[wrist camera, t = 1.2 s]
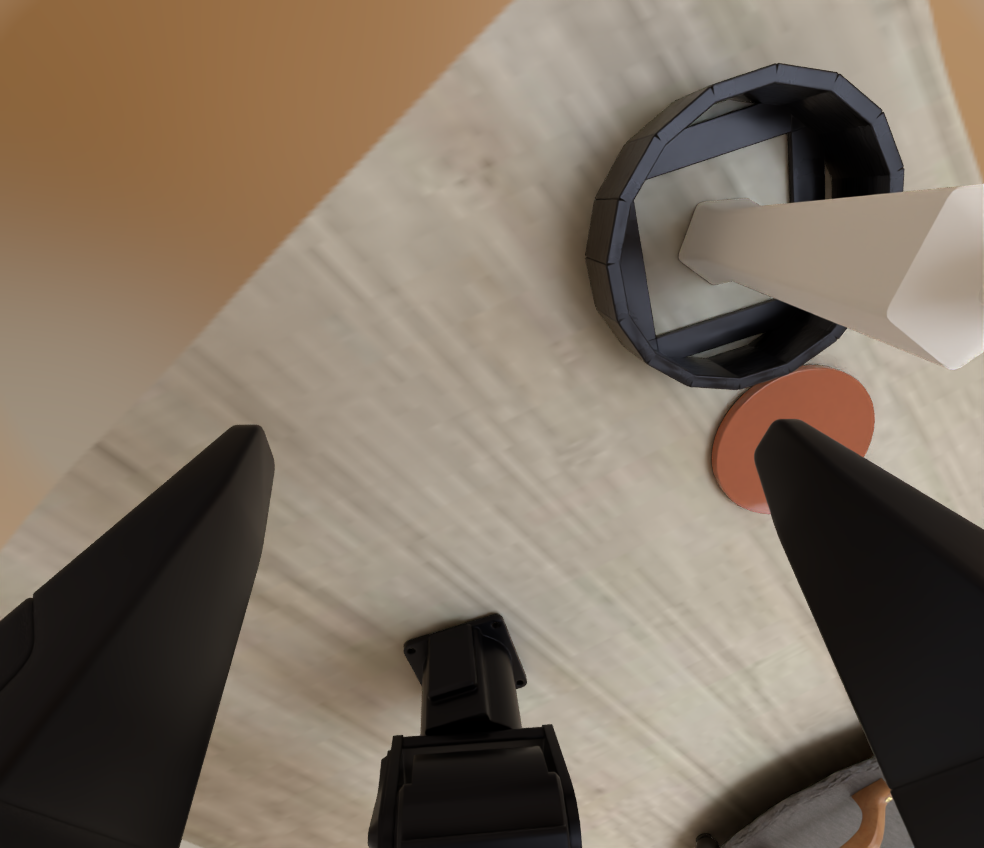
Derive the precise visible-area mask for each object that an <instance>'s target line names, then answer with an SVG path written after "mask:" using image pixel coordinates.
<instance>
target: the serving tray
mask: <svg viewBox="0 0 984 848" xmlns="http://www.w3.org/2000/svg"><path fill="white" fill-rule="evenodd" d="M890 790H891V789H889V788H888V786H887V783H886V781H885V779H884V777H883V774H882V772H881V770H880V767H879V765H878V763H877V761H876V758H875V756H873V757H872V758H870V759H867V760H865V761H862V762H859V763H857V764H854V765H852V766H850V767H847V768H845V769H842V770H840V771H837V772H835V773H833V774H831V775H830V776H828V777H826V778H824V779H823V780H821V781H819V782H817V783H815V784H813V785H812V786H810V787H808V788H806V789H804V790H802V791H799V792H797V793H795V794H792V795H791V796H789V797H788V798H786V799H784V800H783V801H781V802H779V803H778V804H776V805H774V806H773V807H771V808H770V809H769V810H767V811H766V812H765V813H764V814H762V815H760V816H759V817H757V818H756V819H755V820H754V821H753V822H752V823H750V824H749V825H747V826H746V827H744V828H743V829H742V830H740V831H739V832H738V833H736V834H735V835H734V836H732V837H731V838H730V839H729V840H728V841H726V842H725V843H724V844H723V845H722V846H721V847H720V845H719V844H718V842H717V841H716V840H715V839H714V838H712V837H711V835H710V834H702V835H700V836H698V837H697V838H696V842H697V844H696V848H914V846H913V844H912V841H911V839H910V837H909V834H908V832H907V830H906V828H905V825H904V823H903V821H902V818H901V816H900V814H899V812H898V809H897V807H896V805H895V802H894V800H893V798H892V796H891V793H890Z"/></svg>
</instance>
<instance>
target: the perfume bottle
mask: <svg viewBox="0 0 984 848" xmlns="http://www.w3.org/2000/svg"><path fill="white" fill-rule="evenodd" d="M679 260H680V261H681V262H682V263H684V264H685V265H686V266H688V267H689V268H690V269H692V270H693V271H694V272H696V273H697V274H699V275H700V276H701V277H703V278H704V279H705V280H707V281H708V282H709V283H711V284H713V285H718V284H722V283H727V282H732V281H733V282H736V283H738V284H741V285H743V286H746V287H748V288H751V289H753V290H756V291H758V292H761V293H763V294H765V295H768V296H770V297H773V298H775V299H778V300H780V301H783V302H785V303H788V304H790V305H793V306H795V307H797V308H800V309H802V310H805V311H807V312H810V313H812V314H815V315H817V316H820V317H822V318H825V319H827V320H829V321H832V322H834V323H837V324H839V325H842V326H844V327H847V328H849V329H852V330H854V331H856V332H859V333H861V334H864V335H866V336H869V337H871V338H874V339H876V340H879V341H881V342H884V343H886V344H888V345H891V346H893V347H896V348H898V349H901V350H903V351H906V352H908V353H911V354H913V355H916V356H918V357H920V358H923V359H925V360H928V361H930V362H933V363H935V364H938V365H940V366H943V367H945V368H947V369H950V370H956V369H958V368H960V367H962V366H964V365H965V364H966V363H968V362H969V361H971V360H972V359H974V358H975V357H977V356H978V355H980V354H981V353H983V352H984V184H979V185H968V186H957V187H947V188H937V189H927V190H917V191H907V192H897V193H887V194H877V195H867V196H857V197H847V198H837V199H827V200H817V201H807V202H797V203H787V204H776V205H766V206H760V205H759V204H757V203H755V202H754V201H752V200H750V199H748V198H742V199H730V200H718V201H707V202H701V203H699V204H698V205H697V207H696V209H695V211H694V214H693V217H692V220H691V222H690V225H689V228H688V230H687V233H686V236H685V239H684V241H683V244H682V247H681V250H680V252H679Z"/></svg>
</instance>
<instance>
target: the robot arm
mask: <svg viewBox="0 0 984 848" xmlns="http://www.w3.org/2000/svg"><path fill="white" fill-rule="evenodd" d="M754 462H755V466H756V469H757V472H758V475H759V478H760V481H761V485H762V488H763V491H764V494H765V497H766V500H767V504H768V507H769V510H770V513H771V516H772V519H773V523H774V525H775V528H776V531H777V534H778V537H779V539H780V541H781V544H782V546H783V549H784V551H785V553H786V556H787V558H788V560H789V562H790V565H791V567H792V569H793V571H794V574H795V576H796V578H797V581H798V583H799V585H800V587H801V590H802V592H803V594H804V597H805V599H806V601H807V603H808V606H809V608H810V610H811V612H812V615H813V617H814V619H815V622H816V624H817V626H818V628H819V631H820V633H821V635H822V638H823V640H824V642H825V644H826V647H827V649H828V651H829V653H830V656H831V658H832V660H833V663H834V665H835V667H836V669H837V672H838V674H839V676H840V679H841V681H842V683H843V685H844V688H845V690H846V692H847V695H848V697H849V699H850V701H851V704H852V706H853V708H854V710H855V713H856V715H857V717H858V720H859V722H860V724H861V726H862V729H863V731H864V733H865V736H866V738H867V740H868V742H869V745H870V747H871V749H872V751H873V754H874V756H875V758H876V761H877V763H878V765H879V767H880V770H881V772H882V774H883V777H884V779H885V781H886V783H887V786H888V788H889V789H891V790H890V793H891V796H892V798H893V800H894V802H895V805H896V807H897V809H898V812H899V814H900V816H901V818H902V821H903V823H904V825H905V828H906V830H907V832H908V834H909V837H910V839H911V841H912V844H913V846H914V848H984V530H983V529H982V528H980V527H978V526H977V525H975V524H973V523H972V522H970V521H968V520H967V519H965V518H963V517H962V516H960V515H958V514H957V513H955V512H953V511H952V510H950V509H948V508H947V507H945V506H944V505H942V504H940V503H939V502H937V501H935V500H934V499H932V498H930V497H929V496H927V495H925V494H924V493H922V492H920V491H919V490H917V489H915V488H914V487H912V486H910V485H909V484H907V483H905V482H904V481H902V480H900V479H899V478H897V477H895V476H894V475H892V474H890V473H889V472H887V471H885V470H884V469H882V468H880V467H879V466H877V465H875V464H874V463H872V462H870V461H869V460H867V459H865V458H864V457H862V456H860V455H859V454H857V453H855V452H854V451H852V450H850V449H849V448H847V447H845V446H844V445H842V444H840V443H839V442H837V441H835V440H834V439H832V438H830V437H829V436H827V435H825V434H824V433H822V432H820V431H819V430H817V429H815V428H814V427H812V426H810V425H809V424H807V423H805V422H804V421H802V420H799V419H778V420H775V421H774V422H773V423H772V424H771V425H770V426H769V428H768V430H767V431H766V433H765V435H764V436H763V438H762V439H761V441H760V443H759V444H758V446H757V448H756V449H755V453H754ZM274 470H275V465H274V458H273V455H272V452H271V449H270V447H269V444H268V441H267V438H266V435H265V432H264V430H263V428H262V427H261V426H259V425H234V426H232V427H231V428H229V429H228V430H227V431H226V432H224V433H223V434H222V435H221V436H220V437H218V438H217V439H216V440H215V441H214V442H212V443H211V444H210V445H209V446H208V447H207V448H205V449H204V450H203V451H202V452H201V453H199V454H198V455H197V456H196V457H195V458H194V459H192V460H191V461H190V462H189V463H188V464H186V465H185V466H184V467H183V468H182V469H180V470H179V471H178V472H177V473H176V474H175V475H173V476H172V477H171V478H170V479H169V480H167V481H166V482H165V483H164V484H163V485H161V486H160V487H159V488H158V489H157V490H156V491H154V492H153V493H152V494H151V495H150V496H148V497H147V498H146V499H145V500H144V501H142V502H141V503H140V504H139V505H138V506H137V507H135V508H134V509H133V510H132V511H131V512H129V513H128V514H127V515H126V516H125V517H124V518H122V519H121V520H120V521H119V522H118V523H116V524H115V525H114V526H113V527H112V528H110V529H109V530H108V531H107V532H106V533H105V534H103V535H102V536H101V537H100V538H99V539H97V540H96V541H95V542H94V543H93V544H91V545H90V546H89V547H88V548H87V549H86V550H84V551H83V552H82V553H81V554H80V555H78V556H77V557H76V558H75V559H74V560H72V561H71V562H70V563H69V564H68V565H67V566H65V567H64V568H63V569H62V570H61V571H59V572H58V573H57V574H56V575H55V576H53V577H52V578H51V579H50V580H49V581H48V582H46V583H45V584H44V585H43V586H42V587H40V588H39V589H38V590H37V591H36V592H35V593H34V594H33V598H28V599H26V600H25V601H24V602H22V603H21V604H20V605H19V606H18V607H16V608H15V609H14V610H13V611H12V612H10V613H9V614H8V615H7V616H6V617H5V618H3V619H2V620H1V621H0V848H179V847H180V843H181V840H182V836H183V833H184V829H185V826H186V822H187V819H188V815H189V811H190V808H191V804H192V801H193V797H194V794H195V790H196V787H197V783H198V779H199V776H200V772H201V769H202V765H203V762H204V758H205V755H206V751H207V747H208V744H209V740H210V737H211V733H212V730H213V726H214V723H215V719H216V715H217V712H218V708H219V705H220V701H221V698H222V694H223V691H224V687H225V683H226V680H227V676H228V673H229V669H230V666H231V662H232V659H233V655H234V651H235V648H236V644H237V641H238V637H239V634H240V630H241V627H242V623H243V619H244V616H245V612H246V609H247V605H248V602H249V598H250V595H251V591H252V587H253V584H254V580H255V577H256V573H257V570H258V566H259V562H260V558H261V554H262V549H263V543H264V537H265V531H266V524H267V517H268V511H269V504H270V497H271V491H272V484H273V478H274ZM495 622H498V623H495ZM411 648H414V649H411ZM404 654H405V656H406V658H407V660H408V661H409V663H410V665H411V667H412V669H413V671H414V672H415V674H416V676H417V678H418V680H419V682H420V684H421V685H422V704H421V733H420V736H408V737H403V735H396V736H393V740H392V747H391V750H389V751H388V753H387V756H386V757H385V758H383V759H382V760H381V769H380V779H379V788H378V794H377V799H376V803H375V807H374V811H373V815H372V819H371V823H370V827H369V831H368V846H369V848H582V840H581V829H580V820H579V813H578V807H577V802H576V797H575V793H574V789H573V785H572V782H571V779H570V776H569V773H568V770H567V767H566V764H565V761H564V758H563V755H562V752H561V749H560V746H559V743H558V740H557V737H556V734H555V731H554V728H553V725H552V724H548V725H542V727H532V728H522V725H521V719H520V712H519V706H518V700H517V693H516V689H518V688H522V687H524V686H525V685H526V684H527V679H526V674H525V672H524V669H523V667H522V664H521V662H520V659H519V657H518V654H517V652H516V649H515V647H514V644H513V642H512V639H511V637H510V634H509V632H508V629H507V627H506V624H505V622H504V619H503V617H502V616H500V615H497V614H495V615H491V616H487V617H484V618H481V619H478V620H474V621H471V622H468V623H464V624H461V625H458V626H455V627H451V628H448V629H445V630H441V631H438V632H435V633H432V634H428V635H425V636H422V637H418V638H415V639H412V640H409V641H407V642H406V643H405V644H404Z"/></svg>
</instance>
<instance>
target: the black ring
mask: <svg viewBox="0 0 984 848" xmlns="http://www.w3.org/2000/svg"><path fill="white" fill-rule="evenodd" d="M726 100H735V101H742V102H749V103H756V104H755V105H752V106H749V107H746V108H743V109H740V110H737V111H735V112H732V113H729V114H726V115H723V116H720V117H717V118H714V119H711V120H708V121H705V122H702V123H699V124H696V125H693V126H690V127H688V126H689V125H690V124H692V123H693V122H694V121H695V120H696V119H697V118H699V117H700V116H701V115H702V114H703V113H704V112H706V111H707V110H708V109H709V108H710V107H711V106H713V105H714V104H717V103H720V102H723V101H726ZM786 133H788V160H789V187H790V203H797V202H807V201H817V200H825V163H826V166H827V168H828V170H829V173H830V175H831V177H832V199H837V198H847V197H857V196H867V195H877V194H887V193H897V192H903V184H904V168H903V167H904V166H903V163H902V160H901V157H900V155H899V152H898V149H897V146H896V144H895V141H894V138H893V136H892V133H891V130H890V127H889V125H888V122H887V119H886V117H885V114H884V112H882V109H881V108H879V107H878V106H877V105H876V104H875V103H874V102H872V101H871V100H870V99H869V98H868V97H867V96H865V95H864V94H863V93H862V92H861V91H860V90H858V89H857V88H856V87H855V86H854V85H853V84H851V83H850V82H849V81H848V80H847V79H846V78H844V77H843V76H842V75H841V74H838V73H837V72H832V71H826V70H820V69H813V68H807V67H801V66H794V65H788V64H782V63H777V64H772V65H769V66H766V67H763V68H760V69H757V70H754V71H751V72H748V73H745V74H742V75H739V76H736V77H733V78H730V79H727V80H724V81H721V82H718V83H715V84H712V85H710V86H708V87H705V88H703V89H701V90H699V91H696V92H694V93H692V94H689V95H687V96H685V97H682V98H680V99H678V100H675V101H674V102H672V103H671V104H670V105H669V106H667V107H666V108H665V109H664V110H663V111H662V112H661V113H659V114H658V115H657V116H656V117H655V118H654V119H653V120H651V121H650V122H649V123H648V124H647V125H646V126H645V127H643V128H642V129H641V130H640V131H639V132H638V133H637V134H635V135H634V136H633V137H632V138H631V139H630V140H628V141H627V143H626V144H625V145H624V146H623V148H622V150H621V152H620V154H619V155H618V157H617V159H616V161H615V163H614V164H613V166H612V168H611V170H610V172H609V174H608V175H607V177H606V179H605V181H604V183H603V184H602V186H601V188H600V190H599V192H598V193H597V195H596V197H595V199H596V200H595V201H594V205H593V211H592V217H591V223H590V229H589V235H588V241H587V247H586V253H585V256H586V258H585V260H586V265H587V269H588V274H589V279H590V284H591V289H592V293H593V298H594V303H595V307H596V309H597V311H598V312H599V314H600V315H601V316H602V318H603V319H604V320H605V322H606V323H607V325H608V326H609V327H610V329H611V330H612V332H613V333H614V334H615V336H616V337H617V338H618V340H619V341H620V343H621V344H622V345H623V346H624V347H625V348H627V349H628V350H629V351H631V352H632V353H633V354H634V355H636V356H637V357H638V358H640V359H641V360H642V361H643V362H645V363H646V364H647V365H649V366H651V367H653V368H655V369H656V370H658V371H660V372H662V373H664V374H666V375H668V376H669V377H671V378H673V379H675V380H677V381H679V382H681V383H682V384H684V385H686V386H690V387H699V388H714V389H730V390H738V389H743V388H747V387H750V386H753V385H756V384H759V383H763V382H766V381H769V380H772V379H775V378H778V377H782V376H785V375H788V374H789V373H792V372H793V371H795V370H796V369H798V368H799V367H801V366H802V365H803V364H805V363H806V362H808V361H809V360H810V359H812V358H813V357H815V356H816V355H817V354H819V353H820V352H822V351H823V350H824V349H826V348H827V347H829V346H830V345H831V344H833V343H834V342H836V341H837V339H839V338H840V337H841V335H842V334H843V333H844V332H845V330H846V329H847V327H844V326H842V325H839V324H837V323H834V322H832V321H829V320H827V319H825V318H822V317H820V316H817V315H815V314H812V313H810V312H807V311H805V310H802V309H800V308H797V307H795V306H793V305H790V304H788V303H785V302H783V301H780V300H778V299H772V300H769V301H766V302H762V303H759V304H756V305H753V306H750V307H747V308H744V309H741V310H737V311H734V312H731V313H728V314H725V315H722V316H719V317H716V318H712V319H709V320H706V321H703V322H700V323H697V324H694V325H691V326H688V327H684V328H681V329H678V330H675V331H672V332H669V333H666V334H663V335H659V336H656V335H655V329H654V323H653V317H652V310H651V304H650V298H649V292H648V286H647V279H646V273H645V267H644V261H643V254H642V248H641V242H640V236H639V230H638V223H637V217H636V211H635V205H634V199H635V197H636V196H637V194H638V192H639V190H640V189H641V187H642V185H643V183H644V182H645V180H647V179H650V178H653V177H656V176H659V175H662V174H665V173H668V172H671V171H674V170H677V169H680V168H683V167H686V166H689V165H692V164H695V163H698V162H702V161H705V160H708V159H711V158H714V157H717V156H720V155H723V154H726V153H729V152H732V151H735V150H738V149H741V148H744V147H747V146H750V145H753V144H756V143H759V142H762V141H765V140H768V139H771V138H774V137H777V136H780V135H783V134H786ZM763 332H765V333H764V334H762V335H761V336H760V337H758V338H757V339H755V340H754V341H753V342H751V343H750V344H749V345H747V346H743V347H740V348H737V349H734V350H731V351H728V352H725V353H721V354H718V355H715V356H712V357H709V358H696V357H688V356H691V355H694V354H697V353H700V352H703V351H706V350H710V349H713V348H716V347H719V346H722V345H725V344H728V343H732V342H735V341H738V340H741V339H744V338H747V337H750V336H754V335H757V334H760V333H763Z"/></svg>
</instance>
